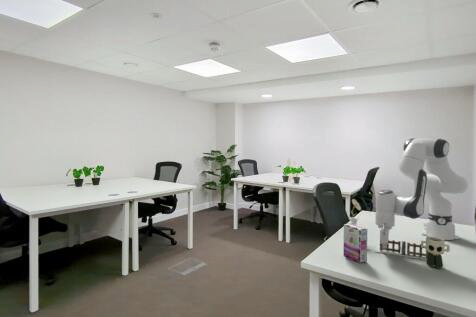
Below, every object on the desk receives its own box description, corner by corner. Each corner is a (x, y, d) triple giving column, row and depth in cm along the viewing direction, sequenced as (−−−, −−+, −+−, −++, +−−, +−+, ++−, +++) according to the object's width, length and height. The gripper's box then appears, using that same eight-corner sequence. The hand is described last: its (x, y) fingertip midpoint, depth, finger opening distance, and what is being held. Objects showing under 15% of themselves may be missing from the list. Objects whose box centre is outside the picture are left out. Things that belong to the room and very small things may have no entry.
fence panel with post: (401, 254, 142) (402, 240, 141) (429, 258, 136) (429, 244, 136) (401, 255, 140) (402, 241, 140) (429, 259, 135) (429, 245, 134)
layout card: (376, 243, 158) (376, 242, 158) (427, 250, 146) (428, 250, 146) (375, 252, 144) (375, 251, 144) (432, 261, 133) (432, 260, 133)
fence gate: (379, 249, 146) (380, 238, 146) (400, 252, 142) (400, 241, 142) (379, 250, 145) (379, 239, 145) (400, 253, 140) (400, 242, 140)
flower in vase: (365, 245, 154) (366, 202, 153) (343, 243, 158) (344, 200, 157) (362, 238, 166) (363, 198, 165) (342, 236, 170) (343, 197, 169)
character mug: (420, 266, 127) (421, 239, 126) (420, 261, 133) (420, 234, 132) (450, 272, 121) (450, 243, 120) (448, 266, 127) (449, 238, 126)
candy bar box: (367, 262, 131) (368, 228, 131) (359, 263, 130) (360, 229, 129) (350, 253, 142) (350, 222, 141) (342, 255, 140) (343, 223, 140)
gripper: (391, 227, 130) (391, 255, 131) (391, 217, 148) (391, 242, 149) (376, 225, 133) (376, 253, 134) (378, 216, 151) (378, 240, 152)
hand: (384, 247), depth 141 cm, fingers closed
